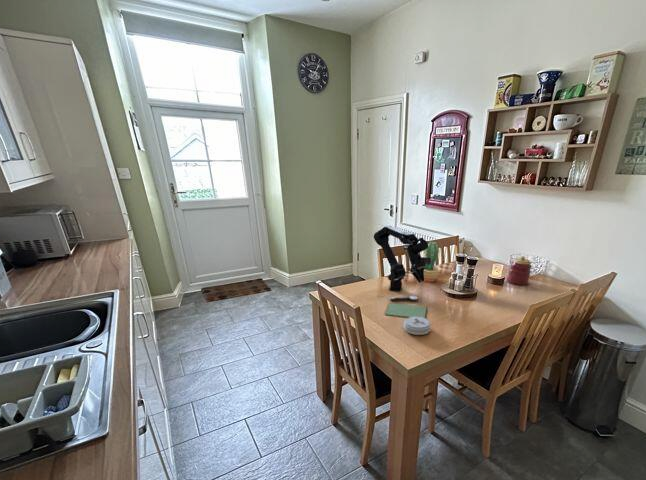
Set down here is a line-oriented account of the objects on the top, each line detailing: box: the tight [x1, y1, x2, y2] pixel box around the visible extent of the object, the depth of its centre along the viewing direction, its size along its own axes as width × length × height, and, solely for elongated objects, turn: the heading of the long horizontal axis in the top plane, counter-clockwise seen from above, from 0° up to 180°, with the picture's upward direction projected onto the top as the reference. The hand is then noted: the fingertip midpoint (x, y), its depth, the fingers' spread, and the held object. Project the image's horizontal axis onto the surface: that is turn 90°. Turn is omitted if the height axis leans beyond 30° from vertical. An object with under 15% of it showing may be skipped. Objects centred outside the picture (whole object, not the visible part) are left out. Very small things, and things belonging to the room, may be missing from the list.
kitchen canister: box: [506, 255, 533, 286], centre depth 214 cm, size 13×13×18 cm
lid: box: [403, 316, 432, 336], centre depth 153 cm, size 13×13×5 cm
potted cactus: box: [423, 241, 442, 283], centre depth 213 cm, size 15×15×25 cm
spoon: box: [389, 295, 418, 303], centre depth 185 cm, size 16×5×2 cm, turn 98°
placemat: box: [385, 302, 427, 319], centre depth 173 cm, size 20×14×1 cm
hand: (421, 282), depth 181 cm, fingers open, 9 cm apart
